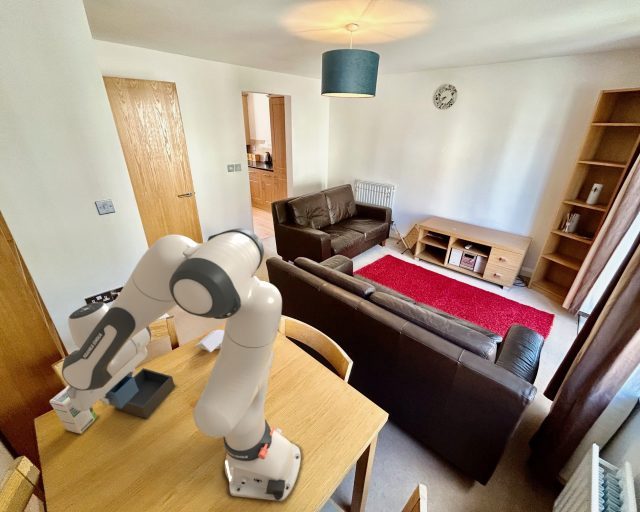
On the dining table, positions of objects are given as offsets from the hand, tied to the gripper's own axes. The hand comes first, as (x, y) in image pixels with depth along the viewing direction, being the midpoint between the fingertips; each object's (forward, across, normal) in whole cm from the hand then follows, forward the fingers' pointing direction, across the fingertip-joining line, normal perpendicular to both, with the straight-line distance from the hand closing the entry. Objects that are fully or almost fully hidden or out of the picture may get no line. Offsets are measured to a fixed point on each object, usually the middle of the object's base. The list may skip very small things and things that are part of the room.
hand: (119, 391), depth 80 cm
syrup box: (+20, -3, +19) cm, 28 cm away
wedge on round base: (+20, +41, -1) cm, 46 cm away
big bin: (+20, +11, +7) cm, 24 cm away
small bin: (+2, 0, 0) cm, 2 cm away
